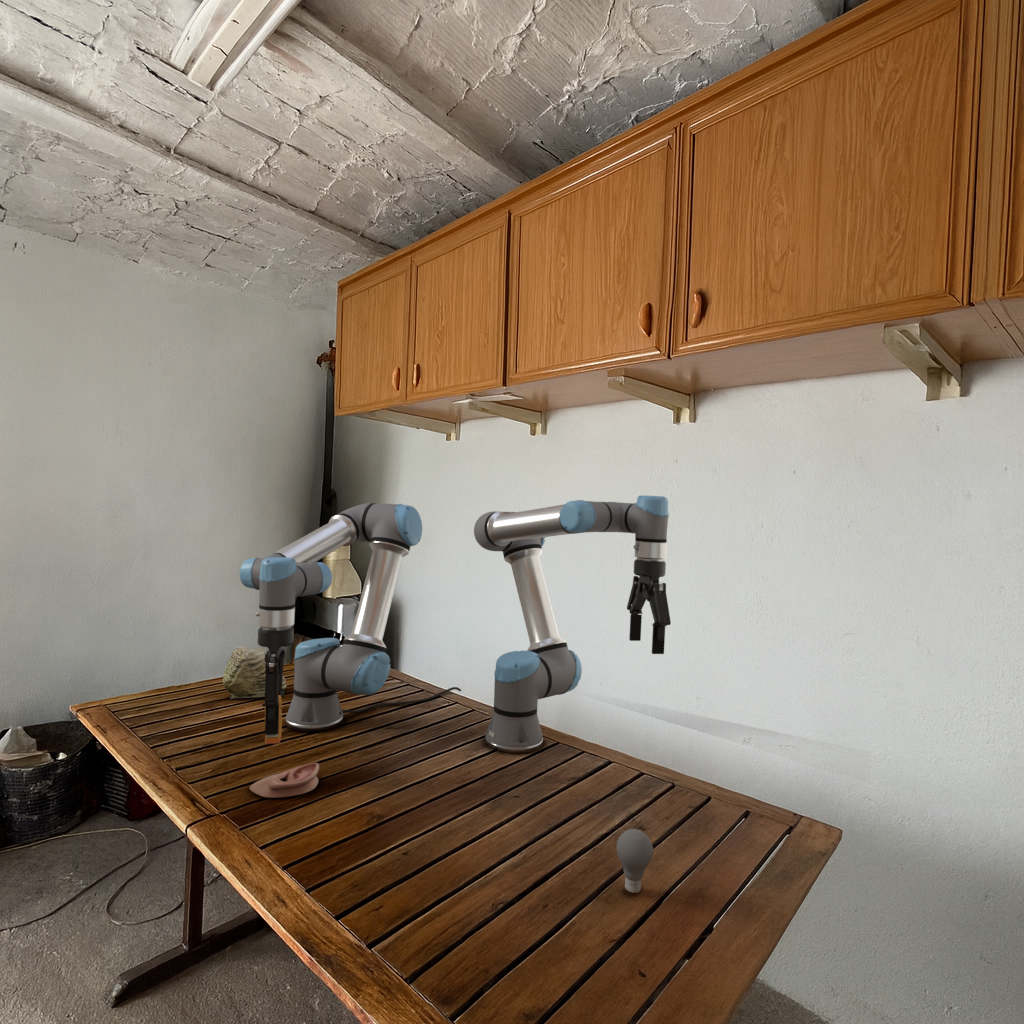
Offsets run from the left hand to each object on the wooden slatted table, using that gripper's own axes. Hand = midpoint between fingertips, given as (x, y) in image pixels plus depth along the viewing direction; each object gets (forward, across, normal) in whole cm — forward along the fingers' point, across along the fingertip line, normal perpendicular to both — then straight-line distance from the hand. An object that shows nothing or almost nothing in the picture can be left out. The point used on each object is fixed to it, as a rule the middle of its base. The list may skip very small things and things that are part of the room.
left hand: (272, 730), depth 142 cm
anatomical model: (+10, +6, +4) cm, 13 cm away
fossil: (+11, -60, -12) cm, 62 cm away
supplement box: (+2, 0, 0) cm, 2 cm away
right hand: (-20, +9, +86) cm, 88 cm away
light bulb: (+10, +54, +64) cm, 84 cm away
